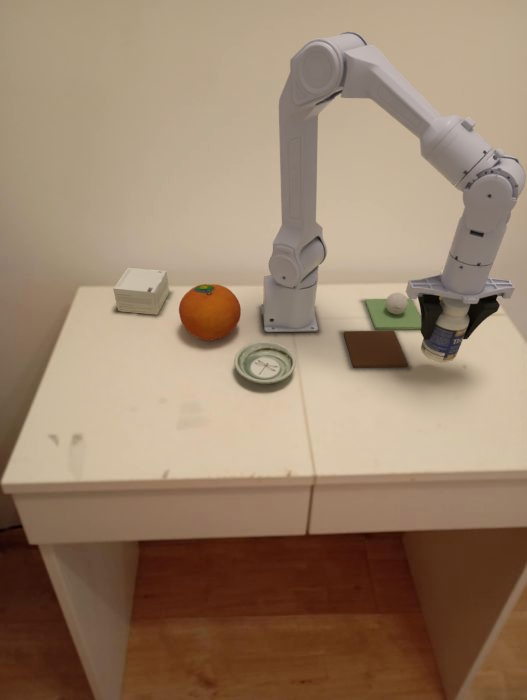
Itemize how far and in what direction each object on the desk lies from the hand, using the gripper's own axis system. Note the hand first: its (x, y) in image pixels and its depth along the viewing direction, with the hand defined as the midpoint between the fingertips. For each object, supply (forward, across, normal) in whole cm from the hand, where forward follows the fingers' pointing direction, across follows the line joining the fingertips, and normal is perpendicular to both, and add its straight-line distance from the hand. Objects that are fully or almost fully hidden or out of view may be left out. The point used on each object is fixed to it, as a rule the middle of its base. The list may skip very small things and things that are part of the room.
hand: (443, 335), depth 71 cm
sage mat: (+8, -2, +16) cm, 18 cm away
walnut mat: (+8, -8, +6) cm, 13 cm away
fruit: (+8, -36, +12) cm, 39 cm away
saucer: (+8, -27, +1) cm, 28 cm away
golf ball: (+7, -2, +16) cm, 18 cm away
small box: (+8, -49, +21) cm, 54 cm away
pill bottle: (+4, 0, 0) cm, 4 cm away
